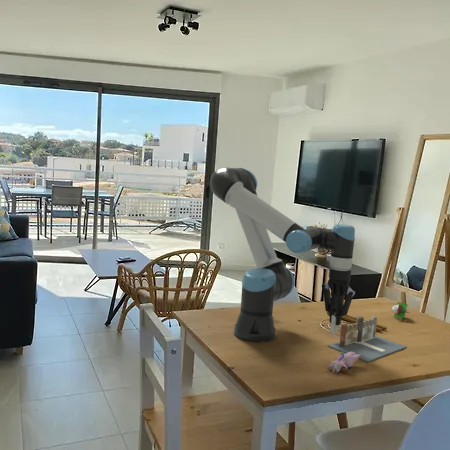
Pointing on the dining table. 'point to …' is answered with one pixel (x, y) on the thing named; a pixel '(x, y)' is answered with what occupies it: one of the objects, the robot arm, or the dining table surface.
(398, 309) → the geometric puzzle
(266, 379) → the dining table surface
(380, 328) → the decorative fence
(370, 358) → the board
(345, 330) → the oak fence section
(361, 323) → the white fence section
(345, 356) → the rabbit figure
